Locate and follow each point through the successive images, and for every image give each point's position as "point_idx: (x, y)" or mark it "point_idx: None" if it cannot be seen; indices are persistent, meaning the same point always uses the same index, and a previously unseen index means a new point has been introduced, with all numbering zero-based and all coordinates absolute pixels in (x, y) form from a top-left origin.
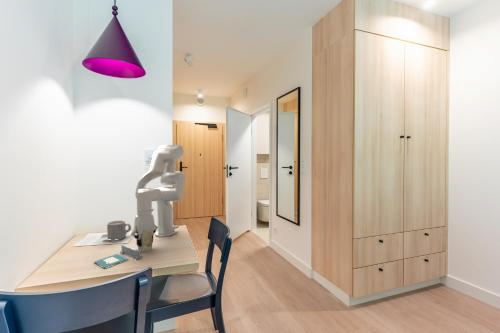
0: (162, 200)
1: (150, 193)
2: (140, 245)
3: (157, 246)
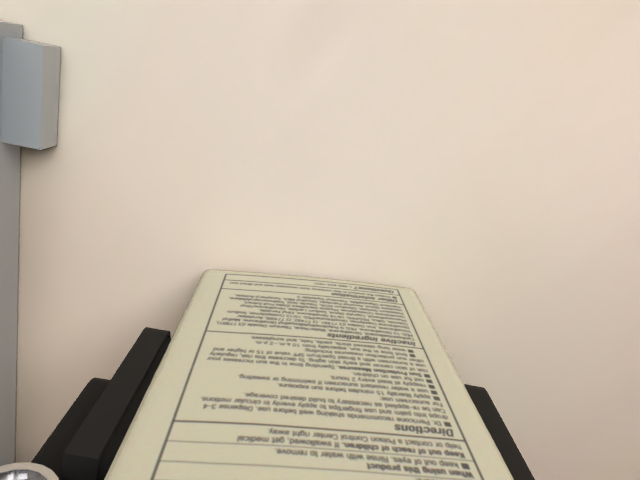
0: None
1: None
2: None
3: None
